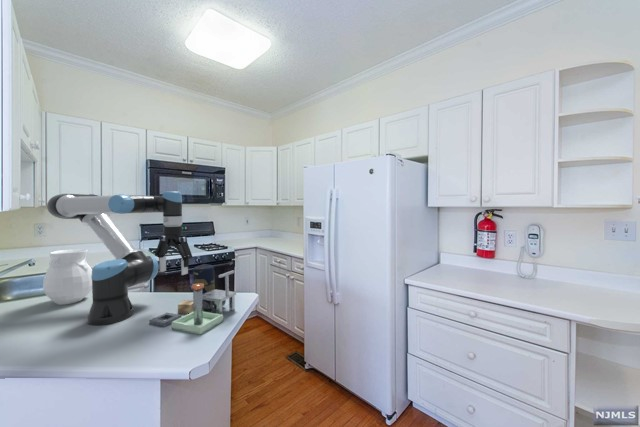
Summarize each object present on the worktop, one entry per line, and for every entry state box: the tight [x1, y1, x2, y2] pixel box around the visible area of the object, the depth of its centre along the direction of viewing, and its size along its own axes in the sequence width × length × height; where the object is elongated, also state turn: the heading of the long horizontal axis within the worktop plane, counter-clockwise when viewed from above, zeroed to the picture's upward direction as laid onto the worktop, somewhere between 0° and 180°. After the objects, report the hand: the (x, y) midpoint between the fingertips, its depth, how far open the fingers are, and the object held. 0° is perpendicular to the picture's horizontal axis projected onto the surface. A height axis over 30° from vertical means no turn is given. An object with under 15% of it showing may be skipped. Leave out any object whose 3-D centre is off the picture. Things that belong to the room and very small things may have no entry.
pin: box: [191, 283, 204, 325], centre depth 104 cm, size 4×4×15 cm
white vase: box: [42, 248, 93, 306], centre depth 130 cm, size 19×18×25 cm
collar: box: [148, 312, 182, 328], centre depth 107 cm, size 8×8×2 cm
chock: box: [177, 300, 194, 314], centre depth 118 cm, size 6×5×4 cm
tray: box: [171, 311, 224, 336], centre depth 104 cm, size 14×12×3 cm
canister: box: [192, 263, 216, 301], centre depth 131 cm, size 10×10×18 cm
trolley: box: [202, 269, 237, 315], centre depth 117 cm, size 12×10×18 cm
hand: (173, 272), depth 120 cm, fingers open, 13 cm apart
